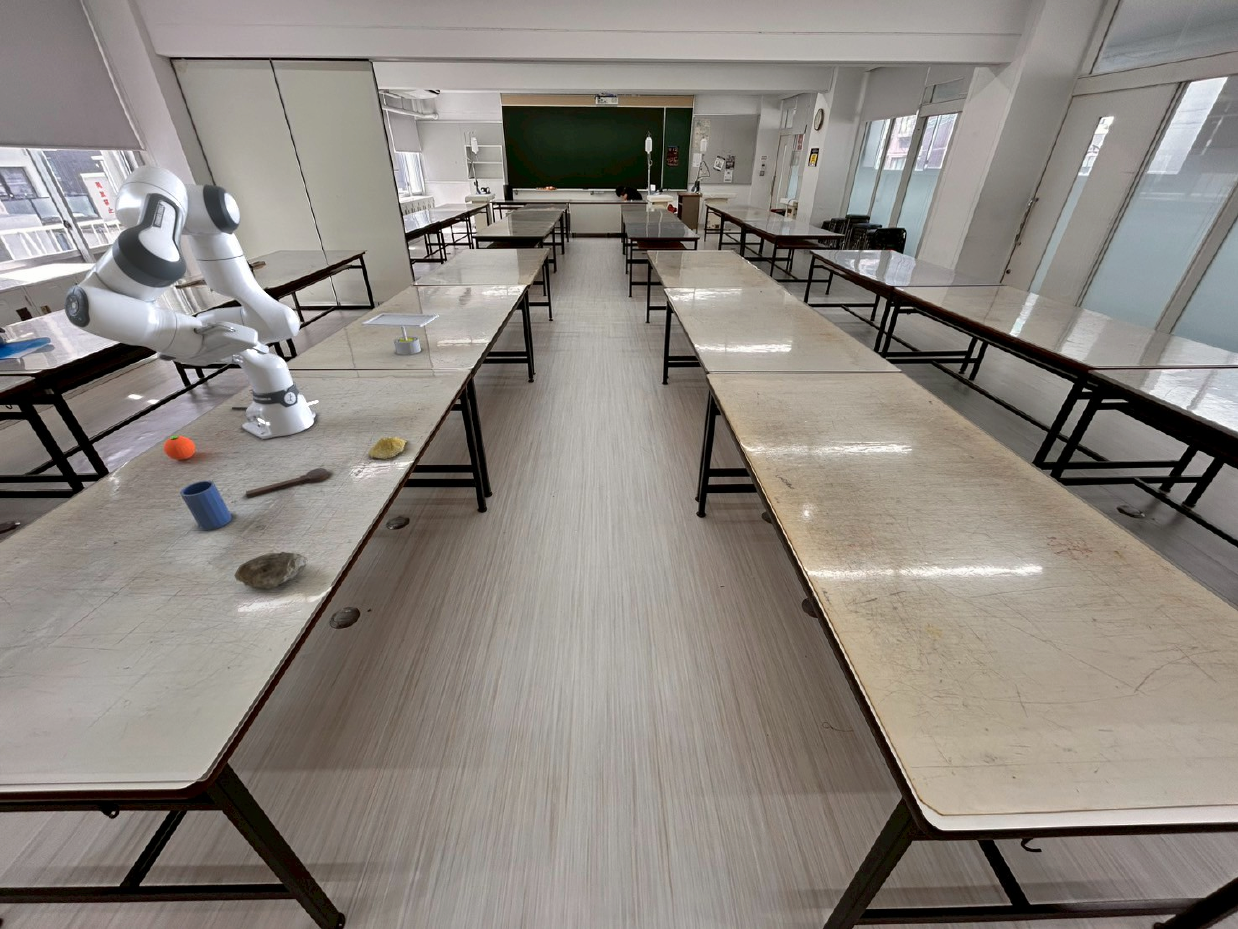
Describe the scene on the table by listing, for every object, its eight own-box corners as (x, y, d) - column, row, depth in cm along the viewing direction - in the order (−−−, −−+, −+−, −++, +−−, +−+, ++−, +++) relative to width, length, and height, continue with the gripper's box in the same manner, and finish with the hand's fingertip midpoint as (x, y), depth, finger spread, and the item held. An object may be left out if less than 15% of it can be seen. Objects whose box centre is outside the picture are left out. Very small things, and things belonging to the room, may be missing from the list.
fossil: (378, 424, 151) (408, 427, 149) (386, 438, 155) (415, 442, 153) (358, 449, 143) (389, 453, 141) (366, 463, 147) (397, 467, 146)
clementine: (167, 457, 147) (155, 436, 144) (195, 448, 152) (185, 428, 148) (173, 466, 143) (161, 445, 139) (202, 457, 147) (191, 436, 143)
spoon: (247, 500, 128) (244, 496, 127) (247, 491, 132) (245, 486, 131) (329, 478, 136) (327, 474, 136) (327, 470, 140) (325, 465, 139)
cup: (194, 526, 119) (173, 492, 114) (221, 511, 124) (202, 478, 119) (211, 532, 117) (191, 498, 112) (237, 517, 122) (220, 483, 117)
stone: (320, 557, 106) (292, 550, 99) (307, 594, 104) (277, 590, 96) (270, 551, 109) (239, 543, 101) (256, 587, 106) (223, 582, 99)
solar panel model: (369, 356, 222) (360, 323, 214) (390, 344, 236) (381, 312, 229) (427, 359, 219) (420, 325, 211) (444, 346, 233) (438, 314, 225)
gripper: (212, 307, 98) (283, 331, 111) (154, 333, 106) (227, 353, 118) (211, 337, 97) (283, 358, 110) (153, 361, 105) (226, 378, 117)
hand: (253, 355), depth 114 cm, fingers open, 8 cm apart
